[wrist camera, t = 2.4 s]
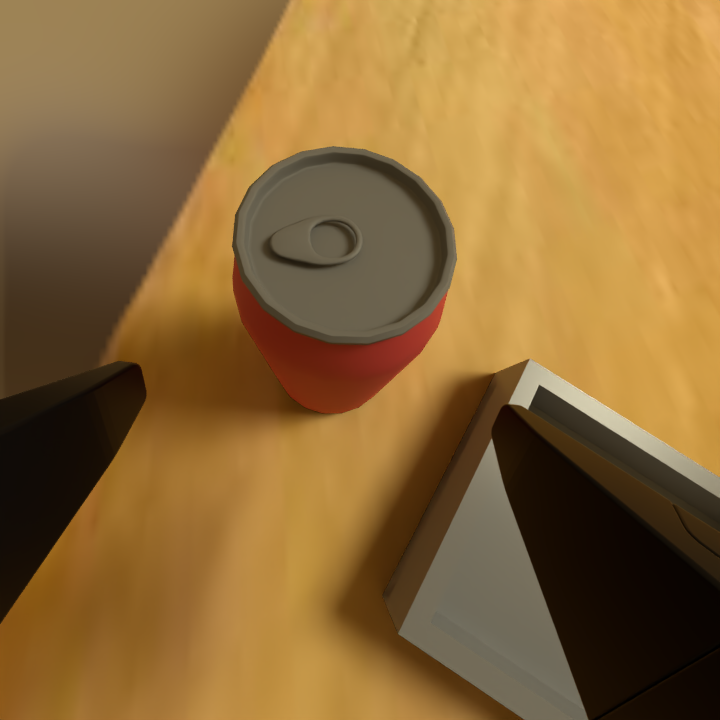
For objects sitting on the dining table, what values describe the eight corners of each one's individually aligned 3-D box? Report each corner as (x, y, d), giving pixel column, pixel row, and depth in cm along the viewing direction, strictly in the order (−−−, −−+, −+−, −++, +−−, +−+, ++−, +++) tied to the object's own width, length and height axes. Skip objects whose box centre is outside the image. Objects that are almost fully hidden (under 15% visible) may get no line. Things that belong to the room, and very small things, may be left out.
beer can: (269, 314, 20) (199, 130, 8) (375, 303, 21) (444, 124, 9) (282, 423, 18) (217, 385, 7) (395, 405, 19) (508, 344, 8)
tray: (656, 781, 16) (746, 870, 13) (382, 595, 17) (398, 633, 13) (720, 514, 20) (801, 528, 16) (495, 372, 20) (530, 358, 17)
